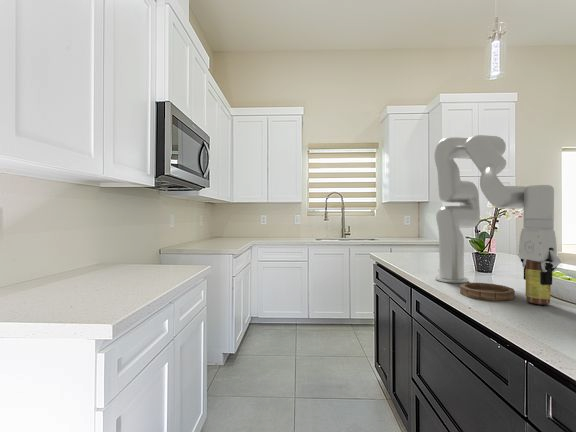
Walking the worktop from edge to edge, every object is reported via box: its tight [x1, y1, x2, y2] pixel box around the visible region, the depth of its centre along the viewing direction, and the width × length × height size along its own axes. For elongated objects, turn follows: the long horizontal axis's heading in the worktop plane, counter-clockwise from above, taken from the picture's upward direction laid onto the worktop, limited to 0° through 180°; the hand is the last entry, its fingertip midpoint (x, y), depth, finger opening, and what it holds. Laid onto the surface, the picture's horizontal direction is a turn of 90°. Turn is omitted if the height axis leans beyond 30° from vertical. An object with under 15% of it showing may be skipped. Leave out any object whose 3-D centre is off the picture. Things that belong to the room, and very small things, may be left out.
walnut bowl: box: [459, 282, 516, 302], centre depth 114 cm, size 16×16×3 cm
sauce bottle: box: [525, 260, 552, 306], centre depth 102 cm, size 7×6×20 cm
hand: (537, 281), depth 102 cm, fingers closed on sauce bottle, 6 cm apart
